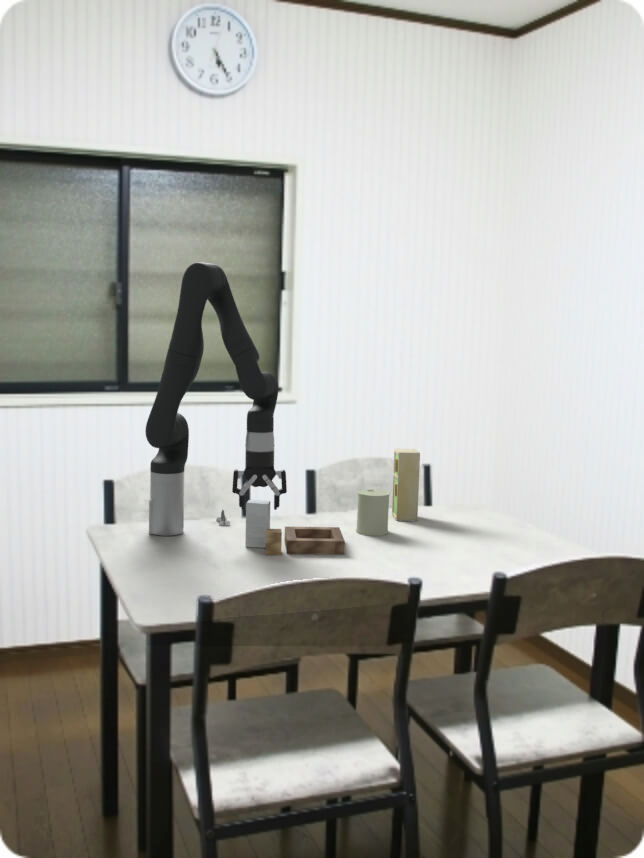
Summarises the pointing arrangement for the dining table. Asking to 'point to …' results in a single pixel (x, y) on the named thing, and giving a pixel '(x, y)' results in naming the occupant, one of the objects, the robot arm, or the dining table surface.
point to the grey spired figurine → (222, 519)
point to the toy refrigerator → (405, 484)
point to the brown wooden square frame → (314, 540)
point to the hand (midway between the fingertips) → (259, 509)
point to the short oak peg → (273, 542)
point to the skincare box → (257, 522)
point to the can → (372, 512)
